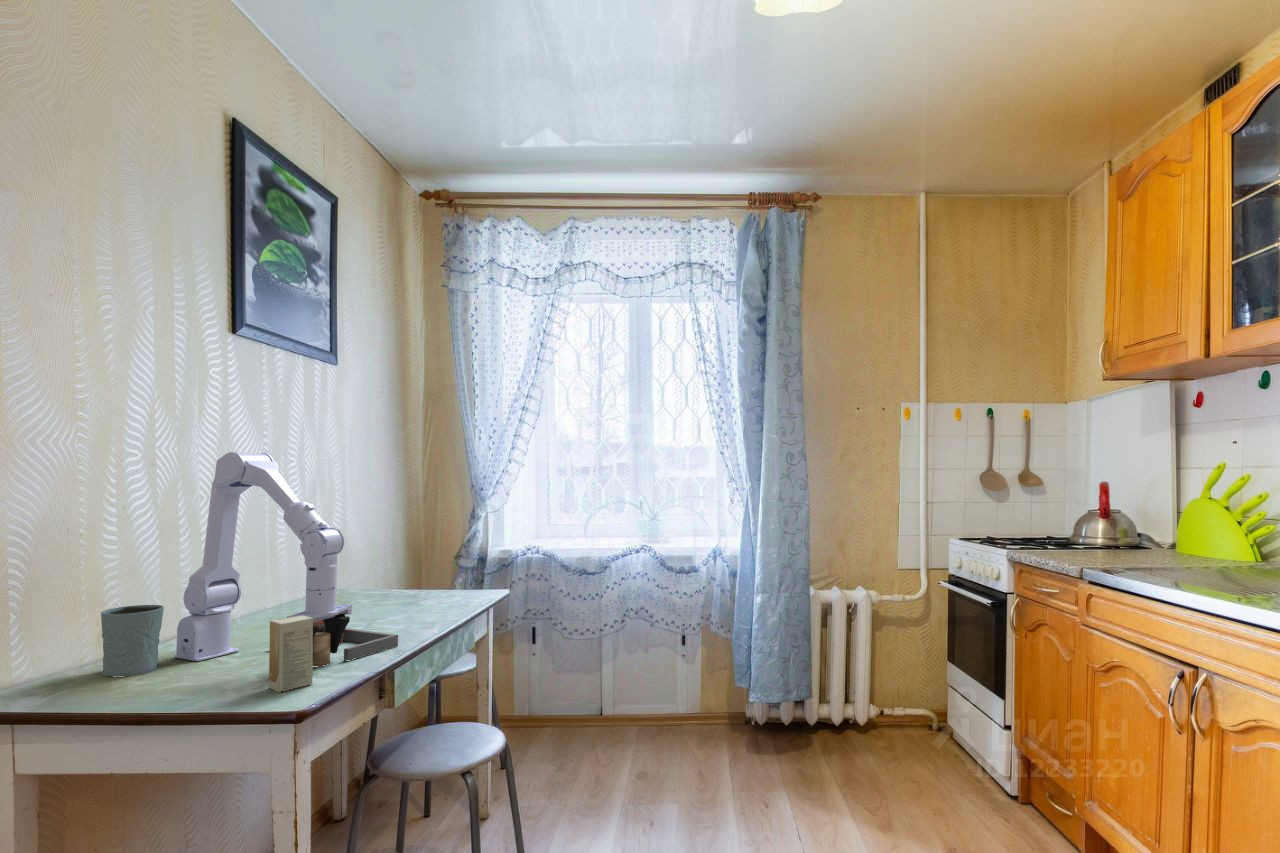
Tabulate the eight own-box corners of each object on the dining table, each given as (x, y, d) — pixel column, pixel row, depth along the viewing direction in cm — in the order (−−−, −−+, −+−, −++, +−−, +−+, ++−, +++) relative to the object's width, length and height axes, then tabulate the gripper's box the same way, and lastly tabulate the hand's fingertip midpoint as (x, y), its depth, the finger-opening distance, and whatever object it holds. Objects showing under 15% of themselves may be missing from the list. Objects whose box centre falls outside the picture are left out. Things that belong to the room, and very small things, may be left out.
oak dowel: (317, 668, 142) (318, 637, 142) (303, 665, 144) (304, 635, 144) (334, 663, 146) (335, 633, 146) (320, 661, 147) (320, 631, 148)
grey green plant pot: (111, 681, 133) (114, 616, 133) (88, 672, 138) (91, 610, 139) (170, 668, 141) (173, 607, 142) (147, 661, 147) (149, 602, 147)
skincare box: (301, 680, 134) (304, 614, 134) (313, 685, 131) (315, 617, 132) (266, 688, 129) (268, 619, 129) (277, 693, 126) (279, 623, 127)
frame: (348, 661, 147) (348, 649, 147) (272, 649, 156) (272, 638, 156) (397, 646, 160) (398, 634, 160) (325, 636, 169) (325, 625, 169)
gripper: (305, 595, 137) (303, 667, 137) (363, 584, 151) (361, 650, 150) (279, 592, 140) (277, 663, 139) (338, 582, 153) (336, 646, 153)
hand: (319, 656), depth 145 cm, fingers open, 6 cm apart
